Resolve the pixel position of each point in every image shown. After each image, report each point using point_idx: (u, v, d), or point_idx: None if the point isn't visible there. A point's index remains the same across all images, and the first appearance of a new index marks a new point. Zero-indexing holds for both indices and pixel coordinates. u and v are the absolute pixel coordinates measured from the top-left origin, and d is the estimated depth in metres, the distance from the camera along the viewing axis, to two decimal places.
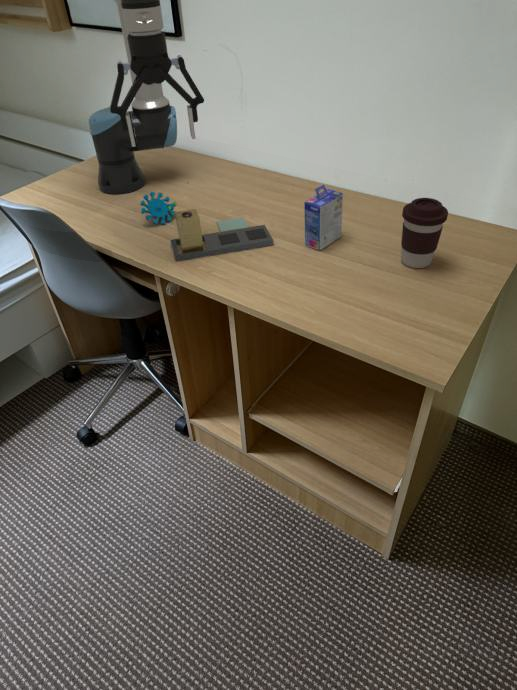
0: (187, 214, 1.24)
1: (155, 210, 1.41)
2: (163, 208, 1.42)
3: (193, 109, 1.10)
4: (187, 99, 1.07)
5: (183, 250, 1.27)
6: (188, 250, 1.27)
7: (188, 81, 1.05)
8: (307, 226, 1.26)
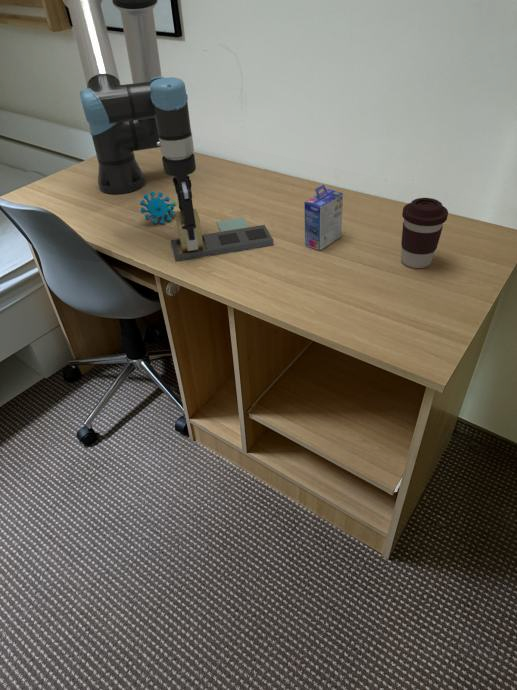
0: None
1: (155, 210, 1.41)
2: (163, 208, 1.43)
3: (187, 229, 1.23)
4: None
5: (183, 250, 1.27)
6: None
7: (182, 208, 1.17)
8: (307, 226, 1.26)
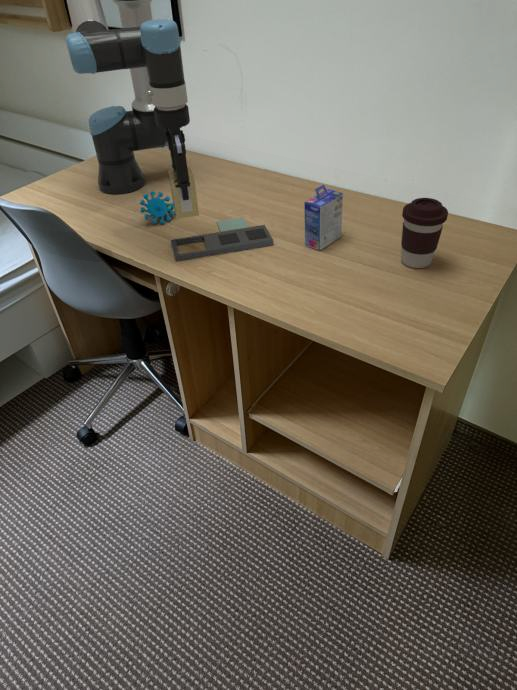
0: None
1: (154, 209, 1.42)
2: (163, 208, 1.43)
3: (181, 188, 1.16)
4: (177, 177, 1.14)
5: (177, 211, 1.20)
6: None
7: (175, 164, 1.10)
8: (307, 226, 1.26)
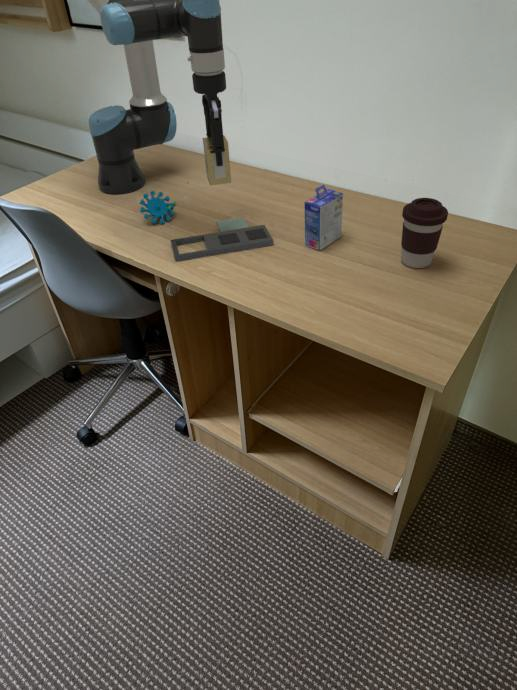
0: None
1: (154, 209, 1.42)
2: (162, 207, 1.43)
3: (215, 154, 1.20)
4: (212, 142, 1.18)
5: (210, 178, 1.24)
6: None
7: (211, 129, 1.14)
8: (307, 226, 1.26)
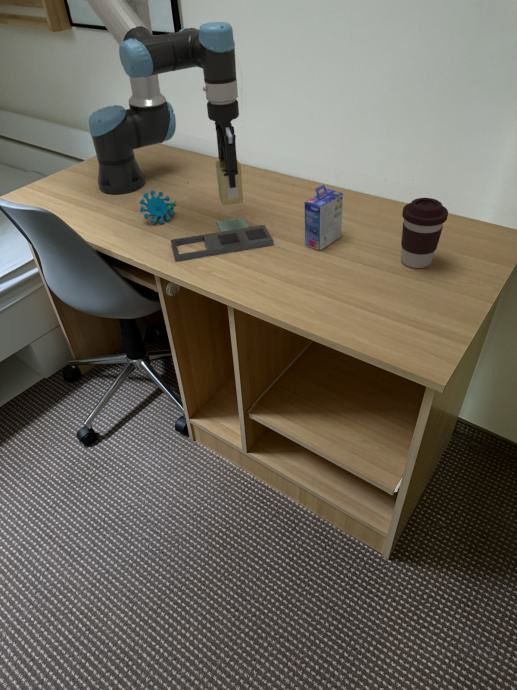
0: None
1: (154, 209, 1.42)
2: (162, 207, 1.43)
3: (228, 177, 1.26)
4: (225, 166, 1.24)
5: (223, 199, 1.30)
6: None
7: (225, 154, 1.21)
8: (307, 226, 1.26)
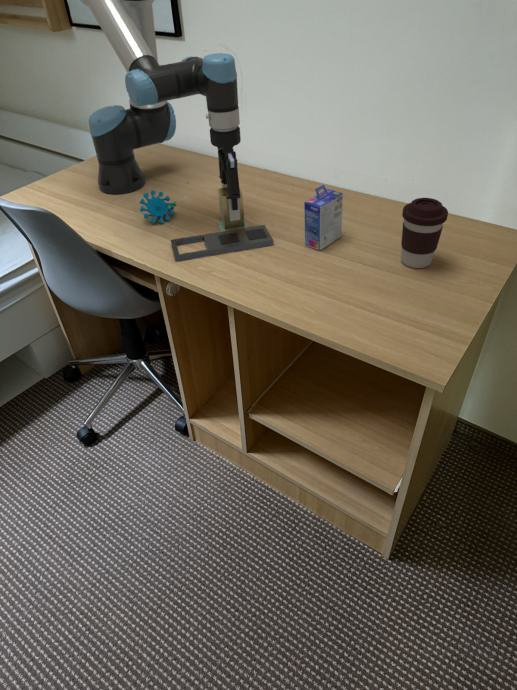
0: None
1: (154, 209, 1.42)
2: (162, 207, 1.43)
3: (231, 200, 1.29)
4: (228, 189, 1.28)
5: (225, 224, 1.35)
6: (230, 224, 1.36)
7: (228, 178, 1.24)
8: (307, 226, 1.26)
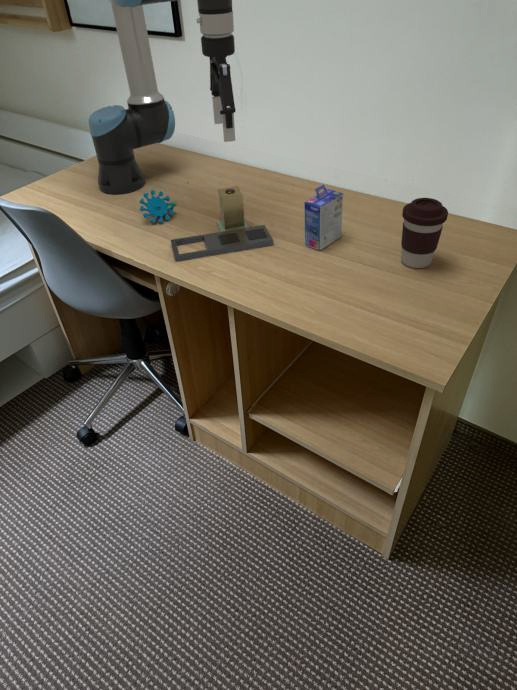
0: (230, 191, 1.32)
1: (154, 208, 1.42)
2: (162, 207, 1.43)
3: (225, 116, 1.16)
4: (221, 104, 1.15)
5: (225, 225, 1.35)
6: (230, 225, 1.36)
7: (221, 89, 1.12)
8: (307, 226, 1.26)
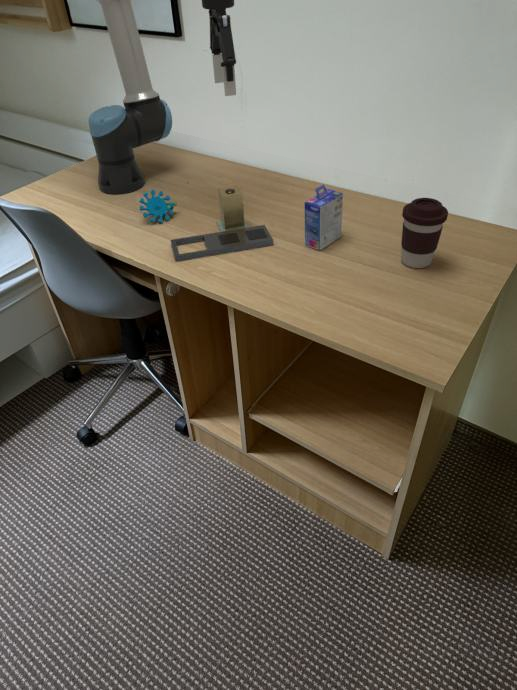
0: (230, 191, 1.32)
1: (153, 208, 1.42)
2: (162, 207, 1.43)
3: (226, 68, 1.17)
4: (222, 57, 1.16)
5: (225, 225, 1.35)
6: (230, 225, 1.36)
7: (221, 40, 1.14)
8: (307, 226, 1.26)
